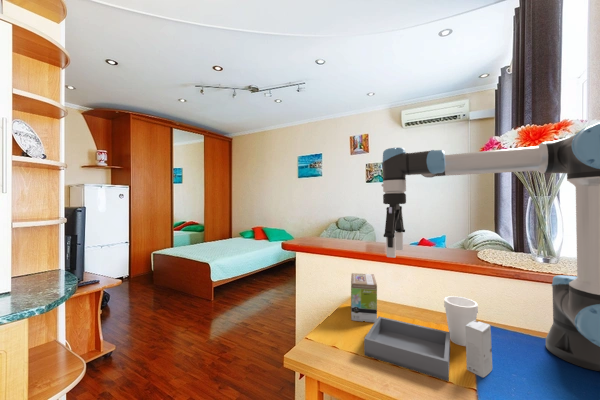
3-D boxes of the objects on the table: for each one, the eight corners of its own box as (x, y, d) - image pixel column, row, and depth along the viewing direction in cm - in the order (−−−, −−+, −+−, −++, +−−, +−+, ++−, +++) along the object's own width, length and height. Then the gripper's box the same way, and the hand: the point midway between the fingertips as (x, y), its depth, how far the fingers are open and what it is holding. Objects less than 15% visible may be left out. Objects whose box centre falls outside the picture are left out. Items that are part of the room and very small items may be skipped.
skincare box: (484, 378, 66) (483, 332, 66) (465, 369, 70) (464, 325, 70) (493, 369, 70) (492, 325, 70) (474, 361, 73) (473, 319, 73)
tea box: (378, 323, 97) (377, 284, 97) (351, 321, 99) (350, 283, 99) (374, 306, 111) (374, 273, 111) (351, 305, 113) (350, 272, 113)
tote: (450, 348, 80) (449, 332, 80) (448, 381, 65) (448, 361, 65) (379, 330, 91) (378, 316, 91) (364, 355, 77) (364, 338, 77)
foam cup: (445, 330, 90) (444, 294, 90) (477, 337, 85) (476, 299, 85) (444, 344, 82) (443, 303, 82) (479, 352, 77) (478, 309, 77)
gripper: (391, 193, 102) (392, 246, 102) (373, 192, 81) (374, 259, 81) (411, 193, 98) (412, 248, 98) (398, 191, 77) (399, 262, 77)
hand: (395, 253), depth 89 cm, fingers open, 13 cm apart
